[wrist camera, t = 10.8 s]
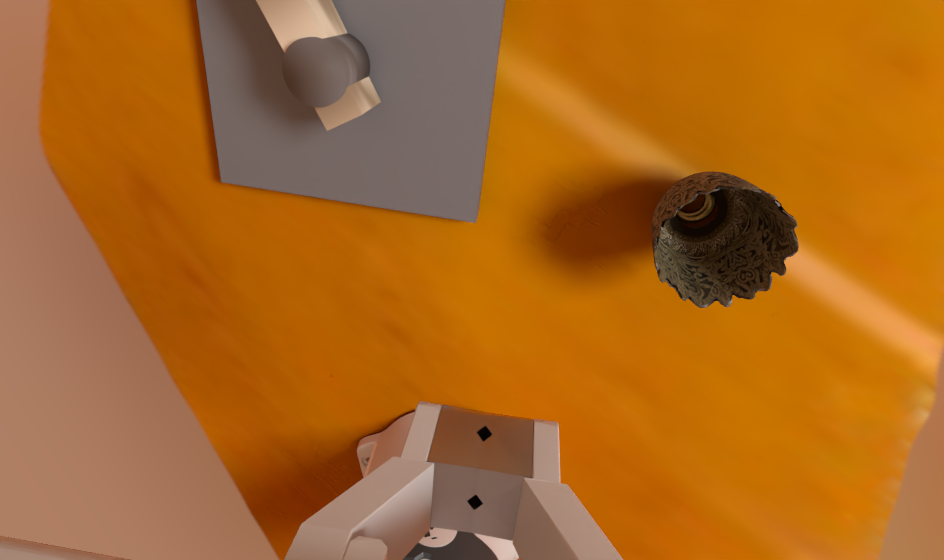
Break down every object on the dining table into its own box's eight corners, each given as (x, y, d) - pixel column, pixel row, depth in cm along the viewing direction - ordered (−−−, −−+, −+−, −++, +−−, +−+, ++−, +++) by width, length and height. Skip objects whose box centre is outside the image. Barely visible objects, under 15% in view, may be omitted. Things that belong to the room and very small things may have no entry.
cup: (613, 199, 36) (627, 248, 29) (705, 123, 33) (746, 159, 26) (678, 268, 38) (706, 330, 31) (771, 203, 35) (826, 256, 28)
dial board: (477, 214, 38) (474, 223, 37) (228, 175, 39) (215, 182, 38) (534, -222, 26) (533, -235, 25) (171, -261, 27) (149, -275, 26)
